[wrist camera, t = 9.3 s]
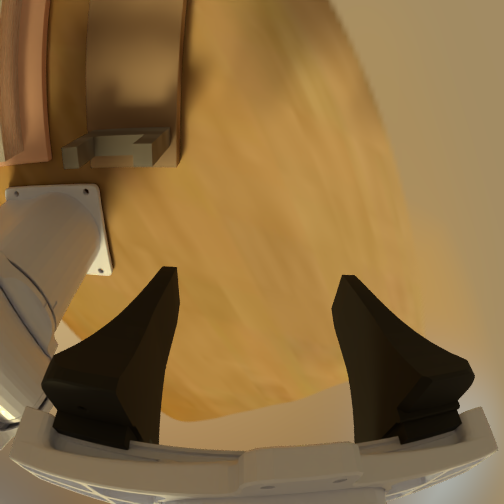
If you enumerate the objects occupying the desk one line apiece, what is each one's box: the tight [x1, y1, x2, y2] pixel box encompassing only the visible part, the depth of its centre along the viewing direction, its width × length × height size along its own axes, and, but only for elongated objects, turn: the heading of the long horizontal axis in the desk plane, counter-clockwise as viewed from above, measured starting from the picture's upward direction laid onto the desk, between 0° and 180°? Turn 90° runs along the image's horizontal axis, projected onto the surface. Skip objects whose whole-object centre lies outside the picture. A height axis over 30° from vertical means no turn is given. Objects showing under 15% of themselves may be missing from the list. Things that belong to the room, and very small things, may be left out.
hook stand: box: [61, 0, 187, 169], centre depth 13 cm, size 17×6×5 cm, turn 176°
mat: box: [0, 0, 52, 166], centre depth 13 cm, size 7×18×1 cm, turn 176°
